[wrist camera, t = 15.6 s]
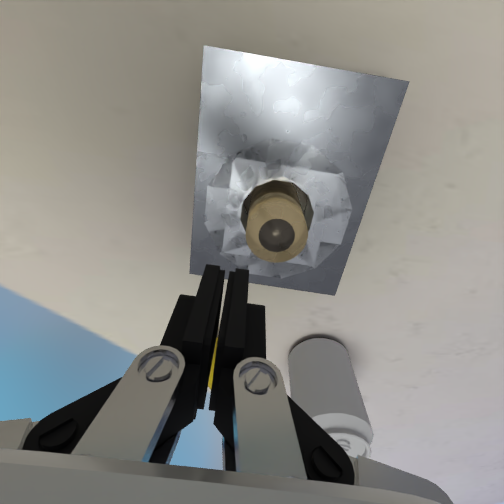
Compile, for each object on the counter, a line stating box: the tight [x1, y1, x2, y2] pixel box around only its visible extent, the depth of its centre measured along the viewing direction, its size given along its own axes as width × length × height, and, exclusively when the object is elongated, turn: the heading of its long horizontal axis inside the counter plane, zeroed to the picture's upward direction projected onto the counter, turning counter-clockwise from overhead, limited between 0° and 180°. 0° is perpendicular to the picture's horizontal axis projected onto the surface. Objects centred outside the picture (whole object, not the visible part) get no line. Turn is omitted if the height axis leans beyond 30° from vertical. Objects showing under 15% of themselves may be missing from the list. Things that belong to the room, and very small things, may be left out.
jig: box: [189, 45, 409, 296], centre depth 26 cm, size 18×14×4 cm
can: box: [288, 338, 374, 458], centre depth 32 cm, size 8×8×12 cm
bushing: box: [246, 180, 308, 263], centre depth 25 cm, size 4×4×8 cm
